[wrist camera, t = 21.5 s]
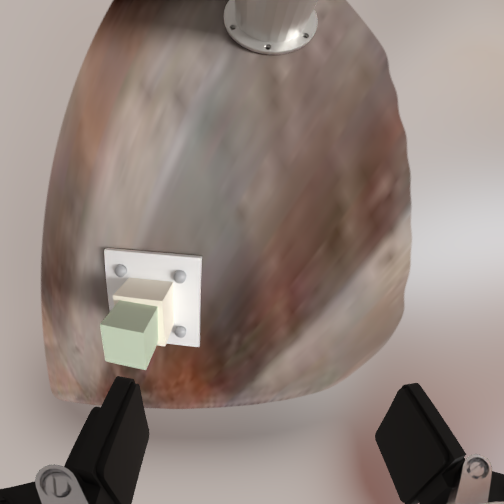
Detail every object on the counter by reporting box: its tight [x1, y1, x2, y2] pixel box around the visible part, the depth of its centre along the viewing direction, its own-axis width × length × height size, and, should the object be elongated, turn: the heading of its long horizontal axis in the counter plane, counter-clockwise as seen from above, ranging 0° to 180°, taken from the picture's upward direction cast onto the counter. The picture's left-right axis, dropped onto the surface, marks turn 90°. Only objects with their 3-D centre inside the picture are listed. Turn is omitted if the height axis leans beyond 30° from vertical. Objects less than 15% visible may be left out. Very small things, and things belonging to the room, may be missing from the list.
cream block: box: [113, 278, 174, 346], centre depth 36 cm, size 6×6×6 cm
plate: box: [104, 248, 202, 347], centre depth 39 cm, size 14×14×2 cm
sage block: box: [100, 300, 158, 370], centre depth 31 cm, size 5×5×6 cm
